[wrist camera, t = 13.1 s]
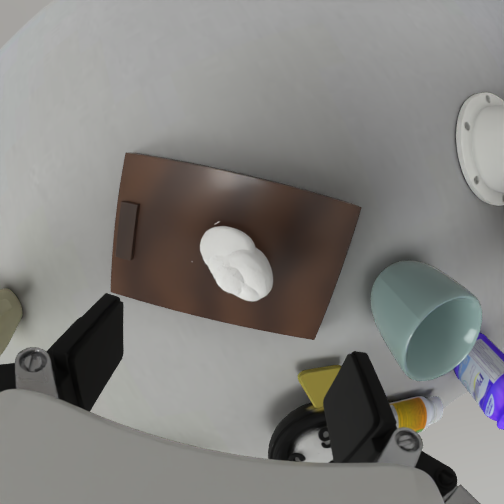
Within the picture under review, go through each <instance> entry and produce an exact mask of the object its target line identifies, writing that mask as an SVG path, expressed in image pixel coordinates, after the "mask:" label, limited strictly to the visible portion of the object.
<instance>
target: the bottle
mask: <svg viewBox="0 0 504 504" xmlns="http://www.w3.org/2000/svg"><path fill="white" fill-rule="evenodd" d="M454 371H455V374H456V376H457V378H458V379H460V381H461V382H462V383H463V385H464V386H465V387H466V389H467V390H468V391H469V393H470V394H471V395H472V397H473V398H474V399H475V401H476V402H477V403H478V405H479V406H480V408H481V409H482V410H483V412H484V414H485V415H486V416H487V417H489V418H490V419H492V420H495V421H497V426H498V428H499V429H503V430H504V353H503V352H502V351H501V350H500V349H498V348H497V347H496V346H495V345H494V344H493V343H492V342H491V341H490V340H489V339H488V338H487V337H486V336H485V335H484V334H482V333H479V335H478V338H477V340H476V342H475V344H474V346H473V348H472V349H471V351H470V352H469V354H468V355H467V356H466V358H465V359H464V360H463V361H462V362H461V363H460V364H459V365H458V366H456V367H455V368H454Z"/></svg>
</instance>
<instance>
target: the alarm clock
mask: <svg viewBox="0 0 504 504" xmlns="http://www.w3.org/2000/svg"><path fill="white" fill-rule="evenodd" d="M340 368H341V366H340V365H332V366H326V367H320V368H314V369H308V370H303V371H301V372H300V373H299V374H298V380H299V382H300V384H301V386H302V387H303V389H304V391H305V392H306V394H307V396H308V397H309V399H310V401H311V402H312V403H309V404H306V405H303V406H301V407H299V408H297V409H296V410H294V411H292V412H291V413H290V414H288V415H287V416H286V417H285V418H284V419H283V420H282V421H281V422H280V423H279V425H278V426H277V427H276V429H275V431H274V433H273V435H272V437H271V440H270V444H269V450H268V459H273V460H283V461H295V462H315V463H334V461H333V455H332V450H331V444H330V439H329V433H328V428H327V423H326V417H325V412H324V407H323V400H324V397H325V395H326V393H327V392H328V390H329V388H330V386H331V385H332V383H333V381H334V379H335V377H336V376H337V374H338V372H339V370H340Z"/></svg>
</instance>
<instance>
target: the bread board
mask: <svg viewBox="0 0 504 504" xmlns="http://www.w3.org/2000/svg"><path fill="white" fill-rule="evenodd" d="M360 210H361V207H359V206H357V205H355V204H352V203H348V202H345V201H342V200H339V199H335V198H332V197H328V196H325V195H322V194H318V193H315V192H311V191H307V190H304V189H300V188H296V187H293V186H289V185H285V184H281V183H277V182H274V181H270V180H266V179H262V178H257V177H253V176H249V175H245V174H241V173H236V172H232V171H227V170H223V169H218V168H213V167H209V166H204V165H199V164H194V163H189V162H183V161H178V160H173V159H167V158H161V157H156V156H150V155H144V154H137V153H126V154H125V159H124V165H123V170H122V176H121V183H120V189H119V196H118V204H117V212H116V220H115V230H114V241H113V254H112V271H111V292H113V293H116V294H119V295H123V296H126V297H129V298H133V299H136V300H140V301H143V302H146V303H150V304H154V305H157V306H161V307H165V308H168V309H172V310H176V311H180V312H184V313H187V314H191V315H195V316H200V317H204V318H208V319H212V320H216V321H221V322H225V323H230V324H234V325H239V326H243V327H248V328H253V329H258V330H263V331H268V332H273V333H278V334H283V335H289V336H294V337H300V338H306V339H312V340H314V339H315V337H316V335H317V332H318V330H319V327H320V325H321V322H322V320H323V317H324V315H325V312H326V310H327V307H328V304H329V302H330V299H331V297H332V294H333V291H334V289H335V286H336V283H337V280H338V278H339V275H340V272H341V269H342V266H343V263H344V260H345V258H346V255H347V252H348V249H349V246H350V243H351V239H352V236H353V233H354V230H355V227H356V224H357V220H358V217H359V214H360ZM218 221H219V223H217V222H218ZM215 223H217V224H215ZM214 224H215V225H214ZM218 226H227V227H232V228H235V229H238V230H240V231H242V232H244V233H245V234H247V235H248V236H249V237H250V238H251V239H252V241H253V242H254V244H255V248H257V249H259V250H260V251H261V252H262V253H263V254H264V255H265V256H266V258H267V260H268V261H269V264H270V266H271V269H272V274H273V286H272V289H271V291H270V292H269V293H268V295H267V296H265V297H263V298H261V299H259V300H257V301H246V300H244V299H241V298H239V297H237V296H236V295H234V294H231V293H228V292H226V291H224V290H223V289H222V288H221V287H219V286H218V284H217V282H216V280H215V278H214V277H213V275H212V273H211V272H210V270H209V267H208V265H207V264H205V262H204V260H203V257H202V254H201V252H200V242H201V239H202V237H203V235H204V234H205V232H206V231H207V230H209V229H211V228H213V227H218ZM192 261H193V262H192Z"/></svg>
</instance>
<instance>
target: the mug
mask: <svg viewBox="0 0 504 504" xmlns="http://www.w3.org/2000/svg"><path fill="white" fill-rule="evenodd" d="M22 314H23V312H22V307H21V304H20V302H19V300H18V298H17V297H16V295H15V294H14V293H13V292H12V291H11V290H9V289H7V288H4V289H0V355H1V354H2V353H3V352H4V350H5V349H6V347H7V345H8V344H9V342H10V340H11V338H12V336H13V334H14V332H15V330H16V328H17V326H18V324H19V322H20V320H21V318H22Z"/></svg>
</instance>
